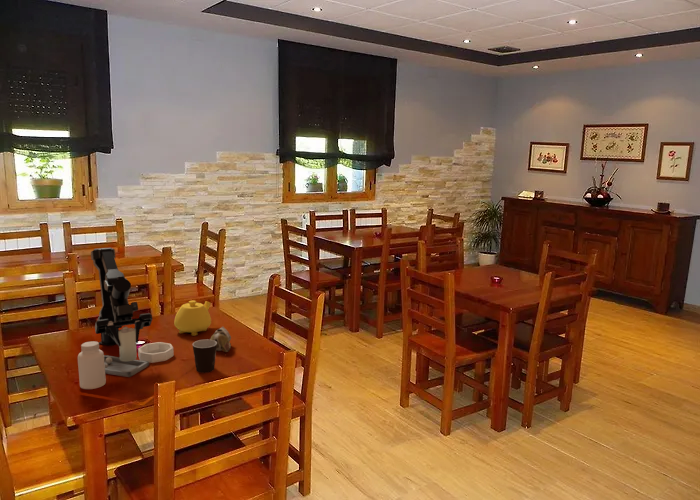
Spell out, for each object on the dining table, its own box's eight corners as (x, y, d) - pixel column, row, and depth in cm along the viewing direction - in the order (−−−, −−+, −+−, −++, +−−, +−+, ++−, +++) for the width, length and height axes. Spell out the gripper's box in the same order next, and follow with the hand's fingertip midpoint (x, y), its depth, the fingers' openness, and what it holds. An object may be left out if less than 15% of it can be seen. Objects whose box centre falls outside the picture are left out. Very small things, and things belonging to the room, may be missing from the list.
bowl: (132, 361, 202) (132, 351, 201) (152, 350, 213) (151, 340, 213) (160, 365, 199) (160, 355, 198) (178, 354, 210) (178, 344, 210)
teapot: (196, 320, 251) (195, 292, 249) (224, 325, 246) (223, 296, 243) (166, 333, 233) (165, 303, 231) (196, 339, 227) (195, 308, 225)
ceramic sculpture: (235, 323, 223) (228, 337, 208) (236, 342, 225) (229, 358, 210) (209, 322, 223) (200, 337, 208) (210, 342, 225) (201, 357, 210)
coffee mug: (210, 375, 192) (210, 349, 190) (188, 372, 194) (188, 346, 192) (224, 363, 203) (224, 338, 202) (203, 360, 205) (203, 335, 203)
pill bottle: (85, 381, 184) (82, 339, 182) (109, 381, 185) (107, 339, 182) (75, 391, 177) (72, 348, 174) (100, 391, 177) (98, 348, 175)
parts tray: (83, 371, 192) (83, 363, 191) (105, 360, 202) (104, 352, 202) (129, 379, 187) (129, 370, 186) (149, 367, 197) (148, 359, 197)
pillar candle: (116, 360, 190) (114, 329, 188) (126, 354, 196) (125, 324, 194) (130, 362, 189) (128, 330, 187) (140, 356, 194) (138, 325, 192)
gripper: (94, 298, 186) (101, 338, 179) (150, 291, 197) (159, 329, 190) (92, 313, 194) (99, 352, 187) (145, 306, 204) (154, 343, 198)
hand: (128, 344), depth 190 cm, fingers closed on pillar candle, 6 cm apart
